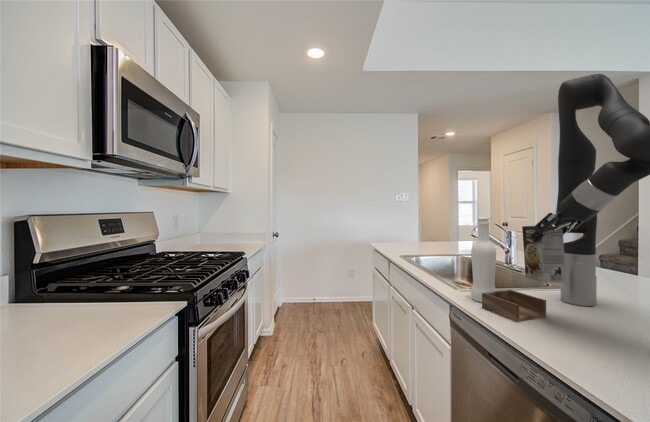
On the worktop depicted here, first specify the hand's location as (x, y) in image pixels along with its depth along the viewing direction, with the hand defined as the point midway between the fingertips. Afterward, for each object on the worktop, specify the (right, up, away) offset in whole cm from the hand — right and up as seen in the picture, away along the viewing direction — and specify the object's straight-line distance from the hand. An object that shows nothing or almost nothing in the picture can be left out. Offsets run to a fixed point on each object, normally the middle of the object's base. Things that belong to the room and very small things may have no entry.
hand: (542, 238), depth 87 cm
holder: (-5, -24, +7) cm, 26 cm away
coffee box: (+1, -12, 0) cm, 13 cm away
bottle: (-7, -24, +19) cm, 31 cm away
